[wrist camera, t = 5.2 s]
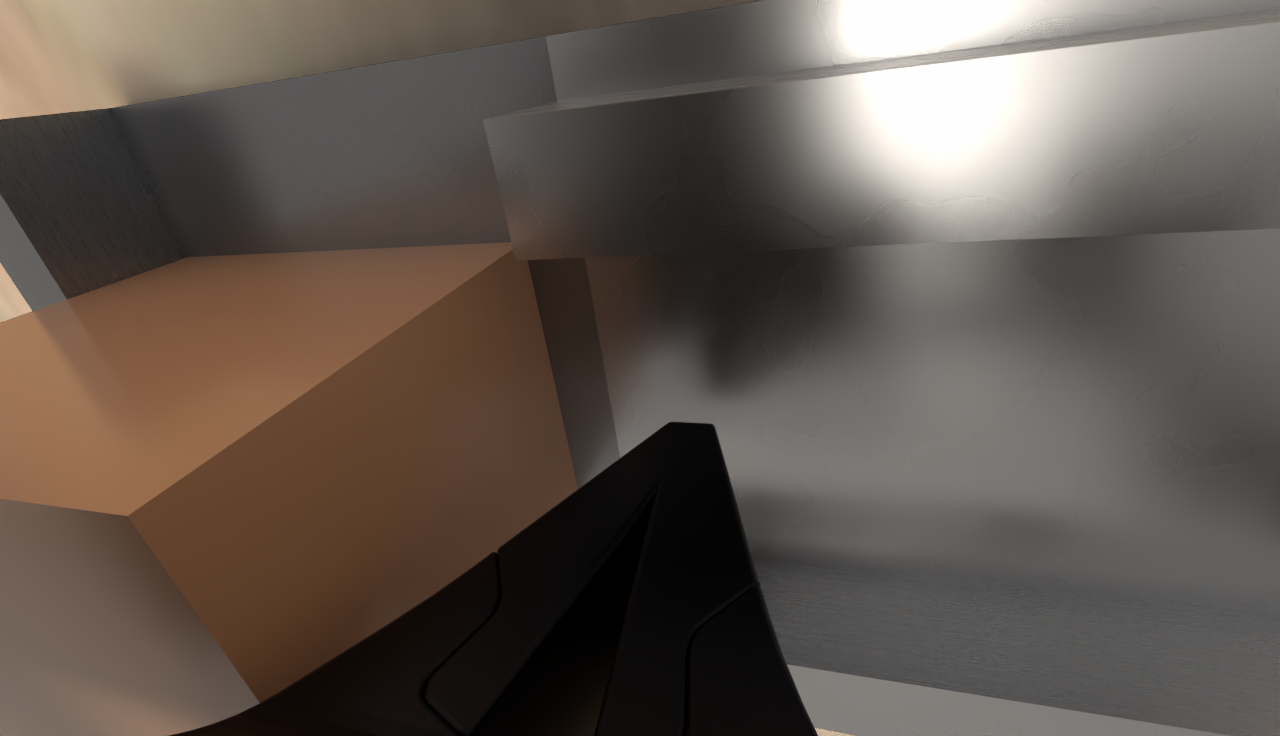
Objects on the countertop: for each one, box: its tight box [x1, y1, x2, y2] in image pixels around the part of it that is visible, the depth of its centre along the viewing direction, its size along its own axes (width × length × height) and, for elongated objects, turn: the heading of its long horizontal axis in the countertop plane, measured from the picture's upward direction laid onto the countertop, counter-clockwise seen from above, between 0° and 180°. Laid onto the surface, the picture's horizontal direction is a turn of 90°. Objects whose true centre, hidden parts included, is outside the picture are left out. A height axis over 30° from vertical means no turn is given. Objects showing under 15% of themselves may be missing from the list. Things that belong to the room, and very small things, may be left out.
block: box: [0, 242, 578, 736], centre depth 8 cm, size 7×5×6 cm
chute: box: [0, 0, 1280, 736], centre depth 9 cm, size 20×11×3 cm, turn 98°
